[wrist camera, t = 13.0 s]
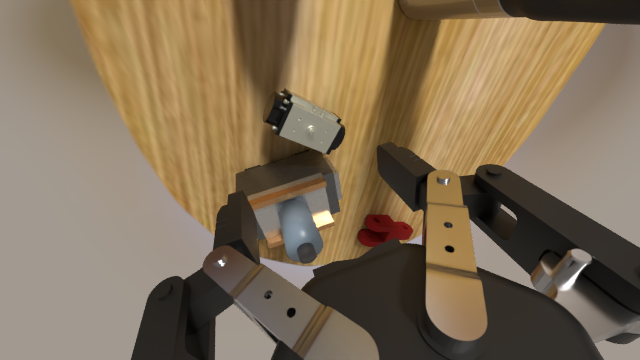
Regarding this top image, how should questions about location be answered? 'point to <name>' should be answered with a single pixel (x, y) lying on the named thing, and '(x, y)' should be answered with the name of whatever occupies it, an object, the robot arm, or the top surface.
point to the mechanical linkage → (383, 230)
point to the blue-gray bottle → (299, 231)
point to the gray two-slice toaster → (291, 191)
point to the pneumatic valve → (303, 121)
